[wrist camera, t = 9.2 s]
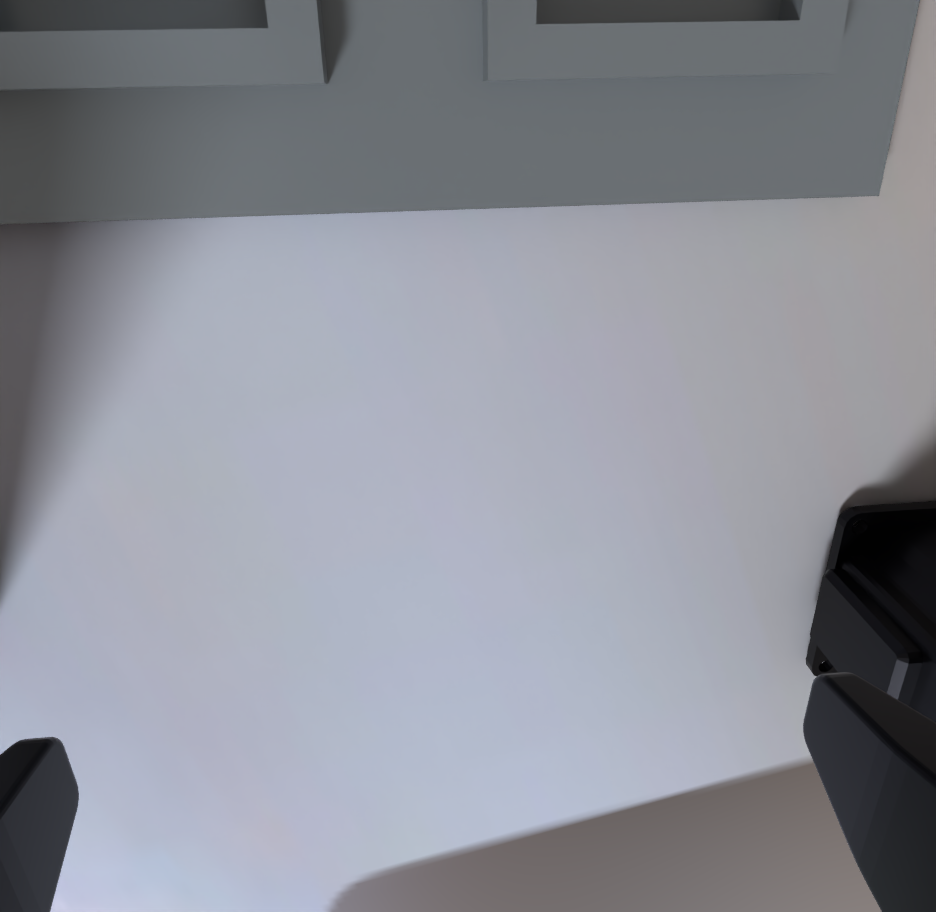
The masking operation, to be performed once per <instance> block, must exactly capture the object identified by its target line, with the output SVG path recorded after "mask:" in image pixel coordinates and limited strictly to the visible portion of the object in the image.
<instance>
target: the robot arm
mask: <svg viewBox="0 0 936 912" xmlns="http://www.w3.org/2000/svg"><path fill="white" fill-rule="evenodd" d="M859 520H860V522H859V524H857V525H856V526H854V527H852V526H853V524H854V523H855V522H857V521H859ZM810 637H811V639H810V644H809V648H808V653H807V657H806V664H807V666H808V667H809V669H810V670H811V672H812V673H813V674H814V675H815V676H817V677H816V678H815V679H814V681H813V684H812V688H811V692H810V697H809V701H808V705H807V709H806V714H805V718H804V723H803V732H804V737H805V741H806V744H807V747H808V749H809V752H810V754H811V756H812V759H813V761H814V764H815V766H816V768H817V771H818V773H819V776H820V778H821V780H822V783H823V785H824V787H825V790H826V792H827V795H828V797H829V800H830V802H831V804H832V806H833V809H834V811H835V814H836V816H837V819H838V821H839V824H840V826H841V828H842V831H843V833H844V835H845V838H846V840H847V843H848V845H849V847H850V849H851V852H852V854H853V856H854V858H855V861H856V863H857V865H858V867H859V869H860V871H861V873H862V875H863V877H864V879H865V881H866V882H867V885H868V887H869V888H870V890H871V892H872V894H873V896H874V898H875V900H876V901H877V903H878V905H879V907H880V909H881V910H882V912H936V501H933V502H918V503H902V504H886V505H871V506H856V507H851V508H849V509H847V510H845V511H844V512H843V513H842V514H841V515H840V516H839V518H838V521H837V524H836V529H835V533H834V538H833V542H832V547H831V551H830V555H829V560H828V564H827V569H826V573H825V574H824V576H823V579H822V583H821V587H820V592H819V596H818V601H817V605H816V610H815V614H814V619H813V623H812V627H811V632H810ZM823 661H824V662H823ZM822 662H823V663H822ZM78 800H79V792H78V786H77V782H76V779H75V777H74V774H73V771H72V768H71V765H70V762H69V759H68V756H67V754H66V751H65V748H64V746H63V744H62V742H61V741H60V740H59V739H58V738H55V737H45V738H33V739H24V740H20V741H18V742H16V743H15V744H13V745H12V746H11V747H9V748H8V749H7V750H6V751H4V752H3V753H2V754H1V755H0V912H50V910H51V906H52V902H53V898H54V895H55V891H56V887H57V883H58V879H59V876H60V872H61V868H62V864H63V861H64V857H65V853H66V849H67V846H68V842H69V838H70V834H71V830H72V827H73V823H74V819H75V815H76V812H77V807H78Z"/></svg>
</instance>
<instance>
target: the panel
mask: <svg viewBox="0 0 936 912" xmlns="http://www.w3.org/2000/svg"><path fill="white" fill-rule="evenodd" d="M919 1H920V0H0V224H24V223H55V222H86V221H117V220H148V219H179V218H210V217H240V216H271V215H302V214H333V213H364V212H395V211H426V210H457V209H488V208H519V207H549V206H580V205H611V204H642V203H673V202H704V201H735V200H766V199H797V198H828V197H858V196H879V193H880V188H881V183H882V179H883V174H884V169H885V164H886V160H887V155H888V150H889V145H890V140H891V136H892V131H893V126H894V121H895V116H896V112H897V107H898V102H899V97H900V92H901V88H902V83H903V78H904V73H905V68H906V64H907V59H908V54H909V49H910V45H911V40H912V35H913V30H914V25H915V21H916V16H917V11H918V6H919Z"/></svg>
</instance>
